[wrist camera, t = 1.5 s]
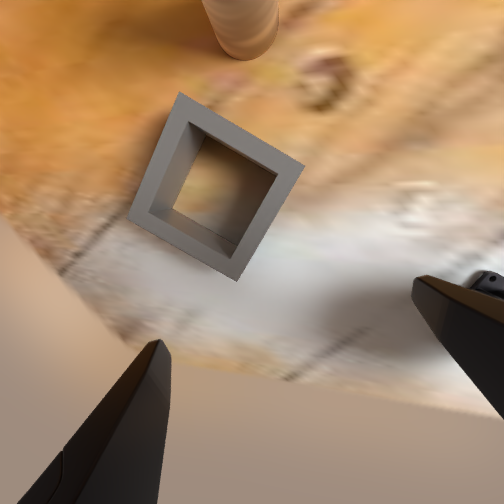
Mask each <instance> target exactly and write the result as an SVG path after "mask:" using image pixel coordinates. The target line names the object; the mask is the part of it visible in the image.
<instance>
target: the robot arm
mask: <svg viewBox="0 0 504 504" xmlns="http://www.w3.org/2000/svg"><path fill="white" fill-rule="evenodd" d="M491 276H492V279H490V280H489V278H490V277H491ZM411 297H412V301H413V302H414V304H415V306H416V307H417V309H418V310H419V312H420V313H421V315H422V316H423V318H424V319H425V321H426V322H427V324H428V325H429V327H430V328H431V330H432V331H433V333H434V334H435V336H436V337H437V338H438V340H439V341H440V342H441V344H442V345H443V346H444V347H445V349H446V350H447V351H448V352H449V354H450V355H451V356H452V357H453V358H454V360H455V361H456V362H457V363H458V365H459V366H460V367H461V368H462V369H463V371H464V372H465V373H466V374H467V376H468V377H469V378H470V379H471V380H472V382H473V383H474V384H475V385H476V386H477V388H478V389H479V390H480V391H481V393H482V394H483V395H484V396H485V397H486V399H487V400H488V401H489V402H490V404H491V405H492V406H493V407H494V408H495V410H496V411H497V412H498V413H499V415H500V416H501V417H502V418H503V419H504V277H503V276H501V275H499V274H498V273H495V272H492V271H487V272H485V273H484V274H483V275H482V276H481V277H480V278H479V279H478V280H477V281H476V283H475V284H474V285H473V286H472V287H471V288H470V289H467V288H464V287H461V286H458V285H456V284H453V283H450V282H447V281H444V280H441V279H438V278H435V277H433V276H429V275H424V276H420V277H416V278H415V279H414V281H413V287H412V293H411ZM170 394H171V354H170V352H169V350H168V349H167V347H166V345H165V344H164V342H163V341H162V340H161V339H158V340H154V341H150V342H148V343H147V345H146V346H145V347H144V348H143V350H142V351H141V352H140V353H139V354H138V356H137V357H136V358H135V359H134V361H133V362H132V363H131V364H130V366H129V367H128V368H127V370H126V371H125V372H124V373H123V374H122V376H121V377H120V378H119V379H118V381H117V382H116V383H115V384H114V386H113V387H112V388H111V389H110V391H109V392H108V393H107V394H106V395H105V397H104V398H103V399H102V401H101V402H100V403H99V404H98V405H97V407H96V408H95V409H94V410H93V412H92V413H91V414H90V415H89V416H88V418H87V419H86V420H85V421H84V423H83V424H82V425H81V427H80V428H79V429H78V430H77V431H76V433H75V434H74V435H73V436H72V438H71V439H70V440H69V441H68V443H67V444H66V445H65V446H64V448H63V451H60V452H59V454H58V455H57V456H56V457H55V459H54V460H53V461H52V462H51V463H50V465H49V466H48V467H47V468H46V470H45V471H44V472H43V473H42V474H41V476H40V477H39V478H38V479H37V481H36V482H35V483H34V484H33V485H32V486H31V488H30V489H29V490H28V491H27V492H26V494H25V495H24V496H23V497H22V498H21V499H20V500H19V502H18V503H17V504H157V500H158V493H159V485H160V476H161V470H162V463H163V455H164V447H165V439H166V433H167V425H168V417H169V410H170Z"/></svg>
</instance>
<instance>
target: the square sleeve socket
mask: <svg viewBox="0 0 504 504" xmlns="http://www.w3.org/2000/svg"><path fill="white" fill-rule="evenodd" d="M206 135H208V136H209V137H211V138H213V139H214V140H216V141H218V142H219V143H221V144H223V145H225V146H226V147H228V148H230V149H231V150H233V151H235V152H236V153H238V154H240V155H242V156H243V157H245V158H247V159H248V160H250V161H252V162H253V163H255V164H257V165H259V166H260V167H262V168H264V169H265V170H267V171H269V172H270V173H272V174H274V175H276V176H277V177H276V179H275V181H274V183H273V184H272V186H271V188H270V190H269V192H268V193H267V195H266V197H265V199H264V200H263V202H262V204H261V206H260V207H259V209H258V211H257V213H256V215H255V216H254V218H253V220H252V222H251V223H250V225H249V227H248V229H247V231H246V232H245V234H244V236H243V238H242V239H241V241H240V243H239V245H238V246H236V245H235V244H233V243H231V242H229V241H228V240H226V239H224V238H222V237H221V236H219V235H217V234H215V233H214V232H212V231H210V230H208V229H207V228H205V227H203V226H202V225H200V224H198V223H196V222H195V221H193V220H191V219H189V218H188V217H186V216H184V215H182V214H181V213H179V212H177V211H176V210H174V209H172V207H173V205H174V203H175V201H176V199H177V197H178V194H179V192H180V190H181V188H182V186H183V184H184V182H185V179H186V177H187V175H188V173H189V171H190V169H191V166H192V164H193V162H194V160H195V158H196V156H197V154H198V151H199V149H200V147H201V145H202V143H203V141H204V138H205V136H206ZM304 167H305V165H303V164H301V163H300V162H298V161H296V160H294V159H293V158H291V157H289V156H288V155H286V154H284V153H283V152H281V151H279V150H278V149H276V148H274V147H272V146H271V145H269V144H267V143H266V142H264V141H262V140H261V139H259V138H257V137H255V136H254V135H252V134H250V133H249V132H247V131H245V130H244V129H242V128H240V127H239V126H237V125H235V124H233V123H232V122H230V121H228V120H227V119H225V118H223V117H222V116H220V115H218V114H217V113H215V112H213V111H211V110H210V109H208V108H206V107H205V106H203V105H201V104H200V103H198V102H196V101H195V100H193V99H191V98H189V97H188V96H186V95H184V94H183V93H181V92H179V93H178V95H177V98H176V100H175V103H174V105H173V107H172V110H171V112H170V115H169V117H168V119H167V122H166V124H165V127H164V129H163V131H162V134H161V136H160V139H159V141H158V144H157V146H156V148H155V151H154V153H153V156H152V158H151V160H150V163H149V165H148V168H147V170H146V172H145V175H144V177H143V180H142V182H141V184H140V187H139V189H138V192H137V194H136V196H135V199H134V201H133V204H132V206H131V208H130V211H129V213H128V216H127V218H126V219H128V220H129V221H131V222H133V223H135V224H136V225H138V226H140V227H142V228H143V229H145V230H147V231H149V232H150V233H152V234H154V235H156V236H157V237H159V238H161V239H163V240H164V241H166V242H168V243H170V244H171V245H173V246H175V247H177V248H178V249H180V250H182V251H184V252H185V253H187V254H189V255H191V256H192V257H194V258H196V259H198V260H199V261H201V262H203V263H205V264H206V265H208V266H210V267H212V268H213V269H215V270H217V271H219V272H220V273H222V274H224V275H226V276H227V277H229V278H231V279H233V280H234V281H236V282H237V281H238V279H239V278H240V276H241V274H242V273H243V271H244V269H245V268H246V266H247V264H248V262H249V261H250V259H251V257H252V256H253V254H254V252H255V251H256V249H257V247H258V245H259V244H260V242H261V240H262V239H263V237H264V235H265V234H266V232H267V230H268V228H269V227H270V225H271V223H272V222H273V220H274V218H275V217H276V215H277V213H278V211H279V210H280V208H281V206H282V205H283V203H284V201H285V200H286V198H287V196H288V195H289V193H290V191H291V189H292V188H293V186H294V184H295V183H296V181H297V179H298V178H299V176H300V174H301V172H302V171H303V169H304Z"/></svg>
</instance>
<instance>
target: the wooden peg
mask: <svg viewBox="0 0 504 504" xmlns="http://www.w3.org/2000/svg"><path fill="white" fill-rule="evenodd" d="M201 1H202V3H203V6H204V8H205V11H206V13H207V15H208V18H209V20H210V23H211V25H212V28H213V30H214V33H215V35H216V38H217V40H218V42H219V44H220V46H221V47H222V49H223V50H224V51H225V52H226V53H227V54H228V55H230V56H231V57H233V58H235V59H238V60H251V59H255V58H257V57H259V56H261V55H262V54H263V53H265V52H266V51H267V50H268V49H269V47H270V46H271V45H272V43H273V41H274V39H275V37H276V34H277V30H278V23H279V0H201Z"/></svg>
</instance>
